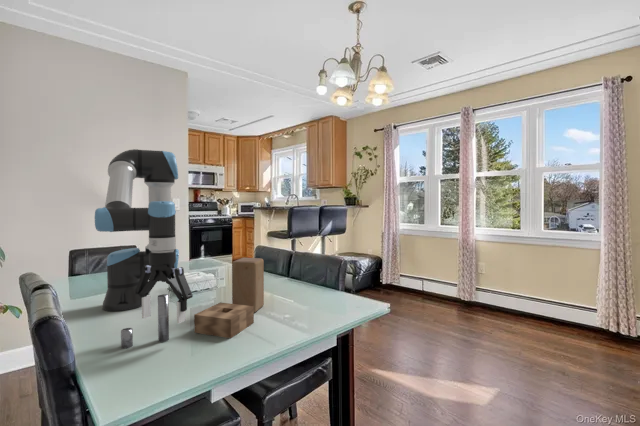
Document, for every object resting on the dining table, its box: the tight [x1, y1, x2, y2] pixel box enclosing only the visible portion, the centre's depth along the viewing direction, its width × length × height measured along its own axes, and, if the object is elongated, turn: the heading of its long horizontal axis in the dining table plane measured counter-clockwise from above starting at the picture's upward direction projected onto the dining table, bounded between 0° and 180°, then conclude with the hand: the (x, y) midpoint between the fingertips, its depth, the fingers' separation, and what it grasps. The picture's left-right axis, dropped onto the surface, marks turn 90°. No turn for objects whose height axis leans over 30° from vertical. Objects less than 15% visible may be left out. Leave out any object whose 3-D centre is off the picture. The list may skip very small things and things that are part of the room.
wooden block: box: [231, 257, 265, 313], centre depth 133 cm, size 10×10×20 cm
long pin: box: [157, 293, 170, 343], centre depth 102 cm, size 3×3×14 cm
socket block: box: [193, 302, 255, 339], centre depth 113 cm, size 14×14×6 cm
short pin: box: [120, 327, 134, 350], centre depth 98 cm, size 3×3×5 cm
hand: (163, 319), depth 102 cm, fingers open, 13 cm apart
